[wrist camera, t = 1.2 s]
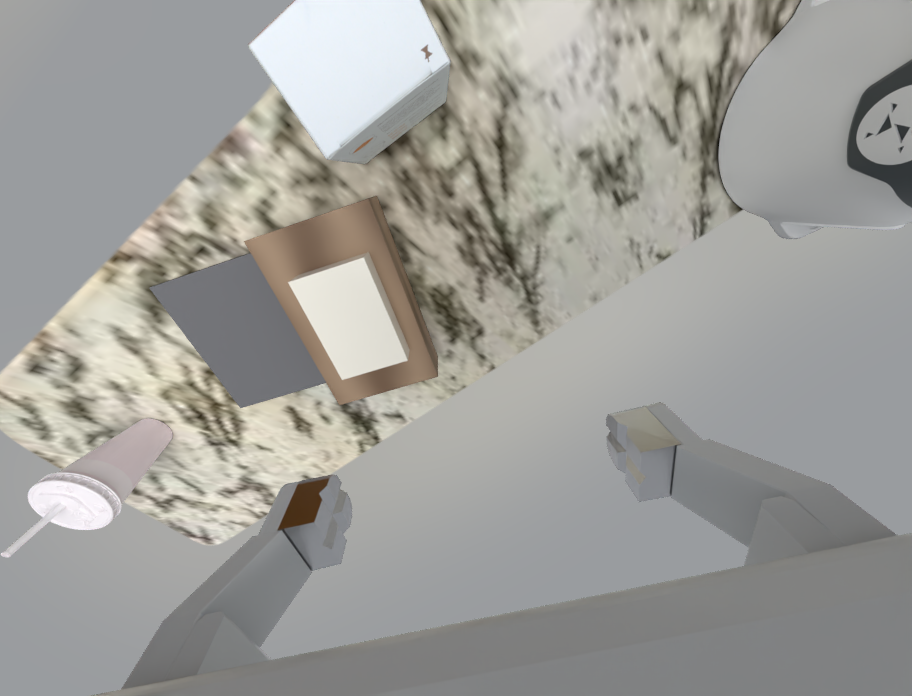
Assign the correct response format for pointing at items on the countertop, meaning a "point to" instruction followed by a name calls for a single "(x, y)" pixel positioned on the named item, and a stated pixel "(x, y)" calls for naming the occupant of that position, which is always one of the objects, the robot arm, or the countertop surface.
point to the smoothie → (96, 481)
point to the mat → (240, 330)
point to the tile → (352, 316)
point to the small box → (355, 71)
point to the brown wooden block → (333, 243)
